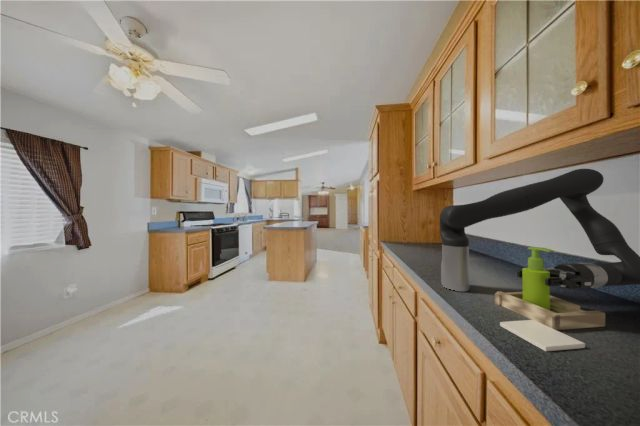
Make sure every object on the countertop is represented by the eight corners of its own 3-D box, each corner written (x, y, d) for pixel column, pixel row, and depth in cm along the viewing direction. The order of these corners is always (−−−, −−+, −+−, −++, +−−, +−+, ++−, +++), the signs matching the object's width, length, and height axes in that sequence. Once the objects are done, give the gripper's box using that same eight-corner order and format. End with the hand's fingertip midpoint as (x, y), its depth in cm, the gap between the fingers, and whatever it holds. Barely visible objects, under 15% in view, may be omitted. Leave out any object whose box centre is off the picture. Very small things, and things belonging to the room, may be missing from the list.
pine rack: (494, 303, 74) (494, 291, 73) (537, 301, 75) (537, 289, 75) (552, 330, 57) (552, 315, 57) (605, 326, 59) (605, 311, 59)
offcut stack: (530, 305, 72) (530, 293, 72) (544, 304, 72) (544, 292, 72) (572, 322, 61) (572, 308, 61) (588, 321, 61) (588, 307, 61)
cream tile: (500, 325, 60) (500, 322, 60) (533, 323, 61) (533, 319, 61) (545, 351, 49) (545, 346, 49) (585, 347, 50) (585, 343, 50)
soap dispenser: (545, 321, 62) (545, 249, 62) (517, 310, 68) (517, 246, 68) (559, 318, 63) (559, 248, 63) (531, 308, 70) (530, 245, 70)
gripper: (552, 258, 74) (508, 259, 73) (612, 269, 60) (559, 271, 58) (552, 280, 74) (508, 282, 73) (612, 296, 60) (560, 299, 58)
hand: (531, 277), depth 66 cm, fingers open, 7 cm apart
